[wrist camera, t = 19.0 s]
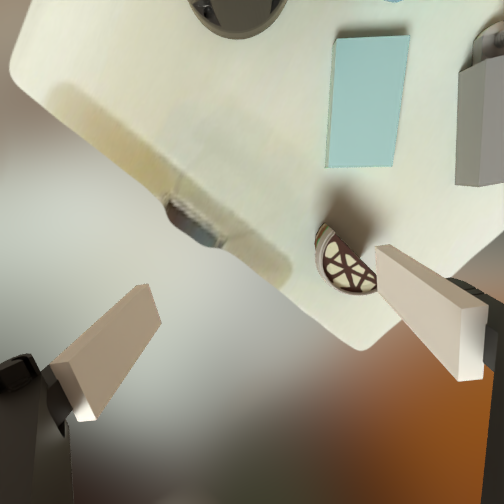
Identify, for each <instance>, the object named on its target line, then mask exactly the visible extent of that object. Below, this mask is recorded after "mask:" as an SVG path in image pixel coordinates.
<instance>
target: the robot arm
mask: <svg viewBox="0 0 504 504" xmlns="http://www.w3.org/2000/svg"><path fill="white" fill-rule="evenodd" d="M385 1H388V2H399V1H402V0H385ZM188 2H189V4H190V6H191V8H192V10H193V12H194V13H195V15H196V16H197V18H198V19H199V20H200V21H201V23H202V24H203V25H204V26H205V27H207V28H208V29H209V30H210V31H212V32H213V33H215V34H217V35H219V36H221V37H224V38H228V39H246V38H250V37H253V36H255V35H257V34H259V33H261V32H263V31H264V30H265V29H267V28H268V27H269V26H270V25H271V24H272V23H273V22H274V21H275V20H276V19H277V17H278V16H279V15H280V13H281V11H282V10H283V8H284V6H285V4H286V2H287V0H188ZM375 256H376V273H377V291H378V293H379V294H380V295H381V296H382V297H383V299H384V300H385V301H386V302H387V303H388V304H389V305H390V306H391V307H392V309H393V310H394V311H395V312H396V313H397V314H398V315H399V316H400V317H401V319H402V320H403V321H404V322H405V323H406V324H407V325H408V326H409V327H410V329H411V330H412V331H413V332H414V333H415V334H416V335H417V336H418V337H419V338H420V340H421V341H422V342H423V343H424V344H425V345H426V346H427V347H428V349H429V350H430V351H431V352H432V353H433V354H434V355H435V356H436V357H437V359H438V360H439V361H440V362H441V363H442V364H443V365H444V366H445V367H446V368H447V370H448V371H449V372H450V373H451V374H452V375H453V376H454V377H455V379H456V380H457V381H467V380H476V379H483V370H484V364H486V365H487V366H488V367H489V368H490V369H491V370H492V371H493V372H494V380H493V390H492V400H491V409H490V419H489V428H488V438H487V448H486V457H485V468H484V477H483V487H482V497H481V504H504V304H503V303H501V302H500V301H498V300H496V299H494V298H493V297H491V296H489V295H487V294H484V292H482V291H480V290H479V289H476V288H475V287H473V286H472V285H470V284H468V283H466V282H464V281H461V280H458V279H454V278H444V277H442V276H440V275H439V274H437V273H435V272H434V271H432V270H431V269H429V268H427V267H426V266H424V265H422V264H421V263H419V262H418V261H416V260H414V259H413V258H411V257H410V256H408V255H406V254H405V253H403V252H401V251H400V250H398V249H397V248H395V247H393V246H392V245H390V244H388V245H382V246H375ZM160 325H161V320H160V317H159V314H158V311H157V308H156V305H155V302H154V299H153V296H152V293H151V290H150V287H149V284H143V285H137V286H135V287H134V288H133V289H132V290H131V291H130V292H129V293H128V294H126V296H124V297H123V298H122V299H121V300H120V301H119V302H118V303H116V304H115V305H114V306H113V307H112V308H111V309H110V310H109V311H108V312H106V313H105V314H104V315H103V316H102V317H101V318H100V319H99V320H98V321H96V322H95V323H94V324H93V325H92V326H91V327H90V328H89V329H88V330H87V331H86V332H84V333H83V334H82V335H81V336H80V337H79V338H78V339H76V340H75V341H74V342H73V343H72V344H71V345H70V346H69V347H68V348H66V350H64V351H63V352H62V353H61V354H60V355H59V356H58V357H56V358H55V359H54V361H52V362H51V363H50V364H49V365H48V366H47V367H45V368H44V369H43V370H42V371H41V372H40V370H39V368H38V366H37V364H36V362H35V360H34V358H33V357H32V355H31V354H22V355H19V356H16V357H13V358H11V359H9V360H7V361H5V362H3V363H1V364H0V504H74V497H73V481H72V465H71V448H70V432H69V425H68V423H67V421H66V417H67V416H68V415H69V414H70V412H71V411H72V410H73V412H74V414H75V416H76V418H77V420H78V422H82V421H91V420H97V418H98V417H99V415H100V414H101V413H102V411H103V410H104V408H105V406H106V405H107V404H108V402H109V400H110V399H111V398H112V396H113V395H114V393H115V392H116V390H117V389H118V387H119V386H120V384H121V383H122V381H123V380H124V378H125V377H126V375H127V374H128V372H129V371H130V370H131V368H132V366H133V365H134V364H135V362H136V360H137V359H138V357H139V356H140V355H141V353H142V352H143V350H144V349H145V347H146V346H147V344H148V343H149V341H150V340H151V338H152V337H153V335H154V334H155V332H156V331H157V329H158V328H159V327H160Z"/></svg>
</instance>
